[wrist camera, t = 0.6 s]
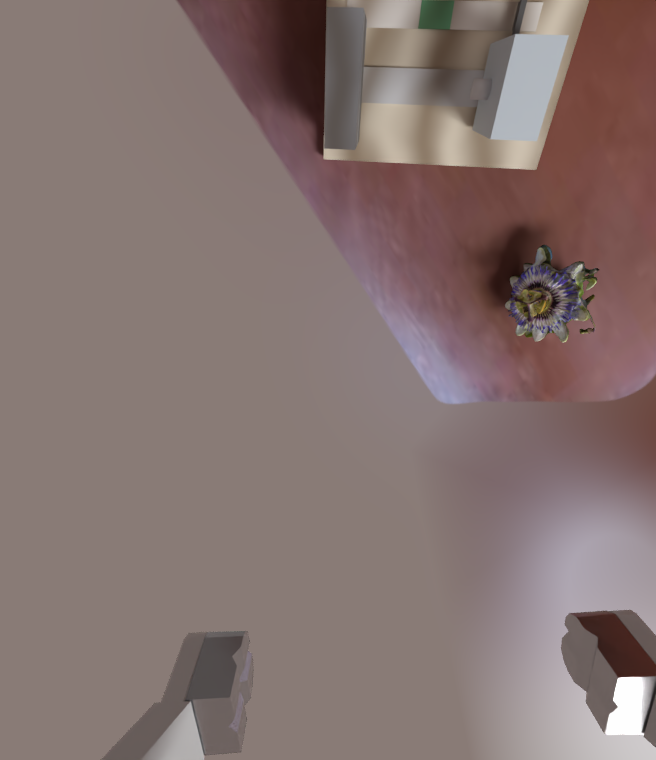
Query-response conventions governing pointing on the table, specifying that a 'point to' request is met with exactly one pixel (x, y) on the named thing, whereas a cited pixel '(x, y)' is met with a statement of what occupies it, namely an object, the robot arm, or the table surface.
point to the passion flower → (550, 297)
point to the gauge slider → (517, 84)
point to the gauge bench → (427, 78)
